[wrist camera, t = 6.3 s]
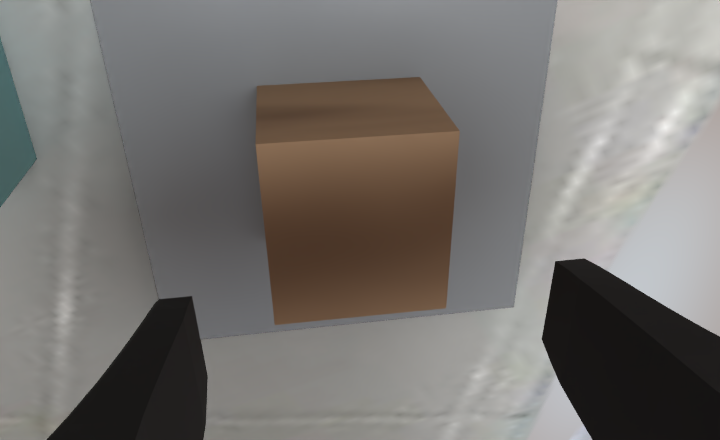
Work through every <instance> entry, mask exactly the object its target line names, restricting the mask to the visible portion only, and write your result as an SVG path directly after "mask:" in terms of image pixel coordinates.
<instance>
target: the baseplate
mask: <svg viewBox="0 0 720 440" xmlns="http://www.w3.org/2000/svg"><path fill="white" fill-rule="evenodd" d="M90 2H91V7H92V11H93V15H94V20H95V24H96V28H97V33H98V37H99V41H100V46H101V50H102V54H103V59H104V63H105V67H106V72H107V76H108V80H109V85H110V89H111V93H112V98H113V102H114V106H115V111H116V115H117V119H118V124H119V128H120V133H121V137H122V141H123V146H124V150H125V154H126V159H127V163H128V167H129V172H130V176H131V180H132V185H133V189H134V193H135V198H136V202H137V206H138V211H139V215H140V219H141V224H142V228H143V232H144V237H145V241H146V245H147V250H148V254H149V259H150V263H151V267H152V272H153V276H154V280H155V285H156V289H157V293H158V298H159V299H166V298H177V297H187V296H192V299H193V304H194V309H195V314H196V319H197V324H198V330H199V335H200V339H208V338H218V337H228V336H238V335H247V334H257V333H267V332H276V331H286V330H296V329H306V328H315V327H325V326H335V325H345V324H354V323H364V322H374V321H384V320H393V319H403V318H413V317H422V316H432V315H442V314H452V313H461V312H471V311H481V310H491V309H500V308H510V307H514V302H515V295H516V288H517V281H518V274H519V267H520V260H521V253H522V246H523V239H524V232H525V225H526V218H527V211H528V204H529V197H530V189H531V182H532V175H533V168H534V161H535V154H536V147H537V140H538V133H539V126H540V119H541V112H542V105H543V98H544V91H545V84H546V77H547V70H548V63H549V56H550V49H551V42H552V35H553V28H554V21H555V14H556V7H557V0H90ZM411 77H420V78H421V79H422V80H423V82H424V83H425V84H426V86H427V87H428V89H429V90H430V91H431V93H432V94H433V95H434V97H435V98H436V99H437V101H438V102H439V103H440V105H441V106H442V108H443V109H444V110H445V112H446V113H447V114H448V116H449V117H450V118H451V120H452V121H453V122H454V124H455V125H456V127H457V128H458V129H459V131H460V135H459V148H458V161H457V174H456V187H455V200H454V214H453V227H452V240H451V253H450V266H449V279H448V292H447V305H446V308H444V309H434V310H424V311H414V312H404V313H393V314H383V315H373V316H363V317H353V318H342V319H332V320H322V321H312V322H302V323H291V324H281V325H275V323H274V314H273V304H272V295H271V286H270V276H269V267H268V257H267V248H266V239H265V229H264V220H263V210H262V201H261V192H260V182H259V173H258V163H257V154H256V144H255V143H256V100H257V86H263V85H281V84H300V83H318V82H337V81H355V80H374V79H392V78H411Z"/></svg>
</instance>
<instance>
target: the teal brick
mask: <svg viewBox="0 0 720 440" xmlns="http://www.w3.org/2000/svg"><path fill="white" fill-rule="evenodd" d="M36 159H37V158H36V155H35V152H34V148H33V145H32V142H31V138H30V135H29V132H28V128H27V125H26V122H25V118H24V115H23V112H22V108H21V105H20V102H19V98H18V95H17V92H16V88H15V85H14V82H13V78H12V75H11V72H10V68H9V65H8V62H7V58H6V55H5V52H4V48H3V45H2V42H1V38H0V207H1V206H2V204H3V203H4V202H5V200H6V199H7V198H8V196H9V195H10V194H11V192H12V191H13V190H14V188H15V187H16V186H17V184H18V183H19V182H20V181H21V179H22V178H23V177H24V175H25V174H26V173H27V171H28V170H29V169H30V167H31V166H32V165H33V163H34V162H35V161H36Z"/></svg>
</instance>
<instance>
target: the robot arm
mask: <svg viewBox="0 0 720 440" xmlns="http://www.w3.org/2000/svg"><path fill="white" fill-rule="evenodd" d="M542 341H543V343H544V346H545V348H546V351H547V353H548V356H549V359H550V361H551V364H552V366H553V368H554V371H555V373H556V375H557V378H558V380H559V382H560V384H561V386H562V388H563V389H564V391H565V393H566V395H567V397H568V398H569V400H570V402H571V403H572V405H573V407H574V409H575V410H576V412H577V414H578V416H579V417H580V419H581V421H582V423H583V424H584V426H585V428H586V429H587V431H588V433H589V434H590V436H591V438H592V440H720V337H719V336H717V335H716V334H714V333H712V332H710V331H708V330H706V329H704V328H702V327H701V326H699V325H697V324H695V323H693V322H692V321H690V320H688V319H686V318H685V317H683V316H681V315H679V314H678V313H676V312H674V311H672V310H671V309H669V308H667V307H666V306H664V305H662V304H661V303H659V302H657V301H656V300H654V299H652V298H651V297H649V296H647V295H646V294H644V293H642V292H641V291H639V290H637V289H635V288H634V287H633V286H631V285H629V284H628V283H626V282H624V281H623V280H621V279H619V278H618V277H616V276H614V275H613V274H611V273H609V272H608V271H606V270H604V269H603V268H601V267H599V266H597V265H596V264H594V263H592V262H590V261H588V260H586V259H575V260H564V261H556V262H555V267H554V273H553V279H552V284H551V290H550V296H549V301H548V307H547V313H546V319H545V324H544V330H543V336H542ZM206 404H207V371H206V366H205V361H204V355H203V350H202V345H201V340H200V335H199V330H198V324H197V319H196V314H195V309H194V304H193V299H192V296H187V297H177V298H166V299H159V300H158V301H157V302H156V303H155V304H154V305H153V307H152V308H151V310H150V311H149V313H148V314H147V316H146V317H145V318H144V320H143V321H142V323H141V324H140V326H139V327H138V328H137V330H136V331H135V333H134V334H133V336H132V337H131V338H130V340H129V341H128V342H127V344H126V345H125V347H124V348H123V349H122V351H121V352H120V353H119V355H118V356H117V357H116V359H115V360H114V361H113V362H112V364H111V365H110V366H109V368H108V369H107V370H106V372H105V373H104V374H103V375H102V377H101V378H100V379H99V381H98V382H97V383H96V384H95V385H94V387H93V388H92V389H91V390H90V391H89V392H88V394H87V395H86V396H85V397H84V398H83V400H82V401H81V402H80V403H79V404H78V405H77V407H76V408H75V409H74V410H73V411H72V412H71V414H70V415H69V416H68V417H67V418H66V419H65V420H64V421H63V423H62V424H61V425H60V426H59V427H58V428H57V429H56V430H55V431H54V432H53V433H52V434H51V435H50V436H49V438H48V439H47V440H203V438H204V431H205V424H206Z"/></svg>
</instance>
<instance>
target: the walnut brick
mask: <svg viewBox="0 0 720 440" xmlns="http://www.w3.org/2000/svg"><path fill="white" fill-rule="evenodd" d="M459 135H460V131H459V129H458V128H457V127H456V125H455V124H454V122H453V121H452V120H451V118H450V117H449V116H448V114H447V113H446V112H445V110H444V109H443V108H442V106H441V105H440V103H439V102H438V101H437V99H436V98H435V97H434V95H433V94H432V93H431V91H430V90H429V89H428V87H427V86H426V84H425V83H424V82H423V80H422V79H421V78H420V77H411V78H392V79H374V80H355V81H337V82H318V83H300V84H281V85H263V86H257V100H256V143H255V144H256V154H257V163H258V173H259V182H260V192H261V201H262V210H263V220H264V229H265V239H266V248H267V257H268V267H269V276H270V286H271V295H272V304H273V314H274V323H275V325H281V324H291V323H302V322H312V321H322V320H332V319H342V318H353V317H363V316H373V315H383V314H393V313H404V312H414V311H424V310H434V309H444V308H446V305H447V292H448V279H449V266H450V253H451V240H452V227H453V214H454V200H455V187H456V174H457V161H458V148H459Z"/></svg>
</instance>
